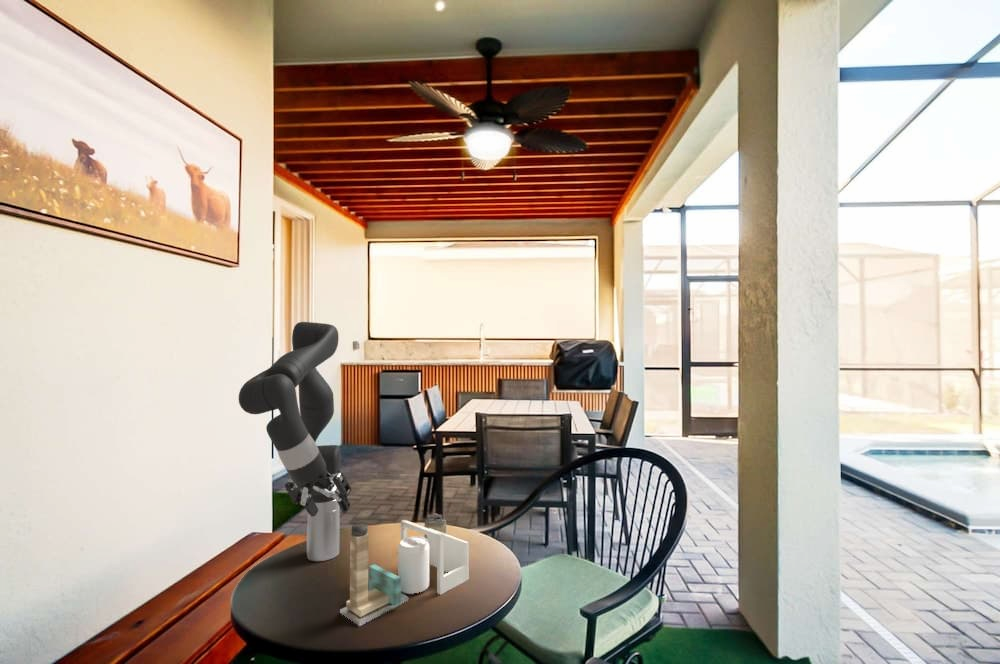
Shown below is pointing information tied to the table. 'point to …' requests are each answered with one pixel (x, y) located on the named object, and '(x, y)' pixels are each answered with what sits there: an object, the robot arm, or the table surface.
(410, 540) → the beverage can
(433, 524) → the lighter
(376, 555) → the table surface
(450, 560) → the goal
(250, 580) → the table surface
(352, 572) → the kicker rod
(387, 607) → the white flat board
